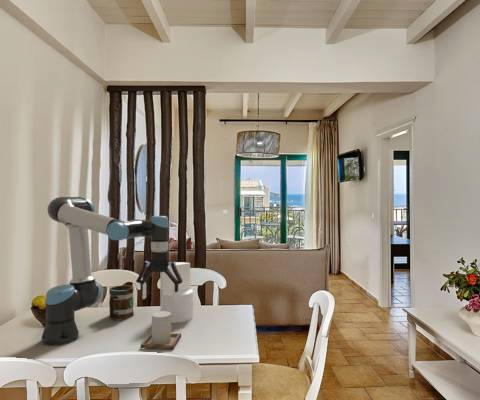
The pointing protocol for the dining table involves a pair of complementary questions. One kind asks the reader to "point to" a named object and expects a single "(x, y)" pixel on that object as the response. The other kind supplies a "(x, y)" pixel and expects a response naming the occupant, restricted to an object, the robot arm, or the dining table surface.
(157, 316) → the grey upright rounded piece
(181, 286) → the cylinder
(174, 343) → the tray
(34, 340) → the dining table surface
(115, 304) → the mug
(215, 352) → the dining table surface
